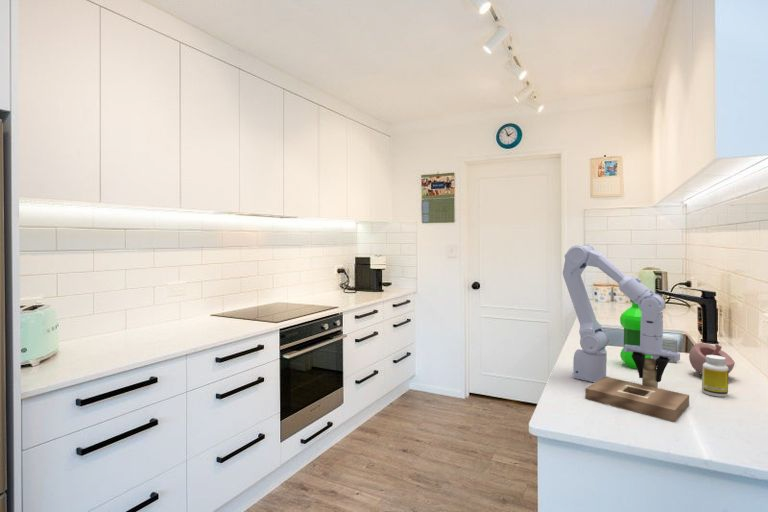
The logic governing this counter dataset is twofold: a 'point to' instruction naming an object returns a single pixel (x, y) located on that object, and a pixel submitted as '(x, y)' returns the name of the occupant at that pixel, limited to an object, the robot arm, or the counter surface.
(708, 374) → the pill bottle
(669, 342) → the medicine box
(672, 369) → the counter surface
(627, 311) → the plastic bottle
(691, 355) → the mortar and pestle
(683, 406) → the socket board
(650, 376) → the beech peg
